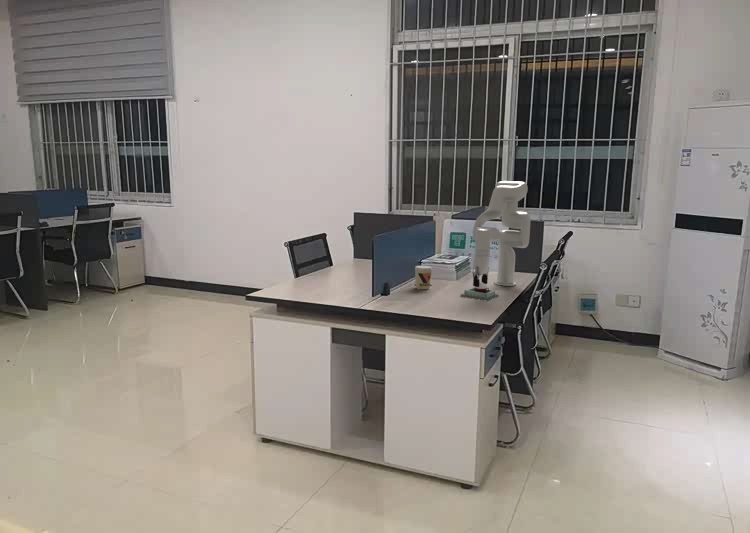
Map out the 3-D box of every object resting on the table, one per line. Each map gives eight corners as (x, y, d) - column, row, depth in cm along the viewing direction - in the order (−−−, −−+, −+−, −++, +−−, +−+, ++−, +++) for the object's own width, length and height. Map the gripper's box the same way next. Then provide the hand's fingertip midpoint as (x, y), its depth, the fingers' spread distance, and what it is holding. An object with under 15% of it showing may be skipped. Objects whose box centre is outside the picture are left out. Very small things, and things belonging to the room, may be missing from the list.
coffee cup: (417, 290, 314) (418, 268, 312) (411, 286, 323) (412, 265, 321) (433, 289, 317) (434, 268, 315) (427, 286, 325) (428, 265, 323)
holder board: (472, 292, 313) (472, 286, 313) (498, 296, 305) (498, 290, 304) (460, 296, 302) (460, 290, 301) (487, 301, 293) (487, 294, 293)
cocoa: (488, 294, 305) (490, 271, 303) (488, 296, 299) (490, 273, 297) (470, 292, 307) (472, 270, 305) (469, 294, 301) (472, 271, 299)
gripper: (482, 250, 308) (480, 281, 311) (467, 253, 294) (466, 286, 297) (495, 251, 304) (493, 283, 307) (481, 255, 290) (479, 288, 293)
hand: (480, 285), depth 302 cm, fingers open, 9 cm apart
